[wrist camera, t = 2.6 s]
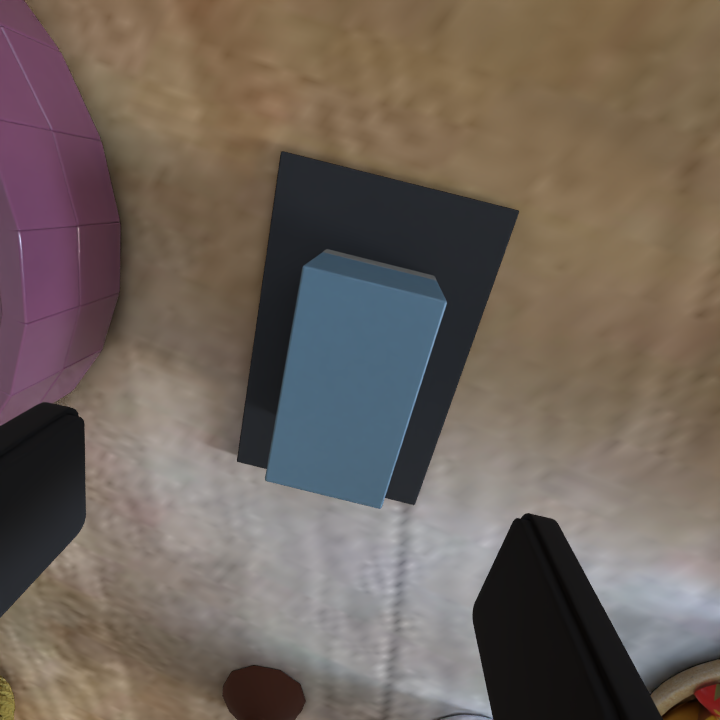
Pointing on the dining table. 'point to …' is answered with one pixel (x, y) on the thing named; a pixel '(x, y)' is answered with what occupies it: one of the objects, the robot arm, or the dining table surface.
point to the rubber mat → (386, 245)
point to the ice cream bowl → (262, 694)
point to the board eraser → (352, 375)
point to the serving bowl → (49, 222)
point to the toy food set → (691, 694)
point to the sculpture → (6, 701)
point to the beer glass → (465, 717)
